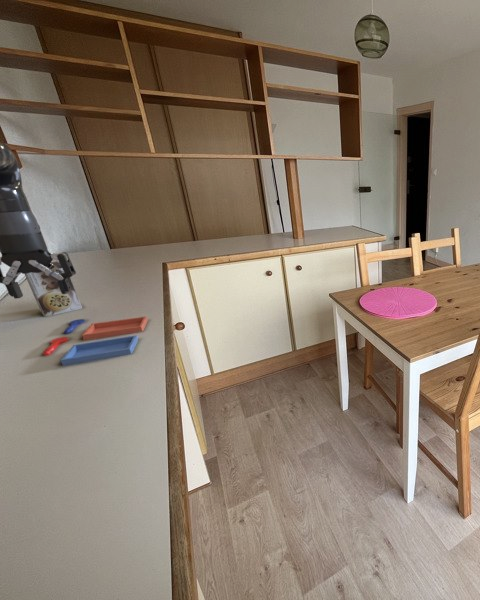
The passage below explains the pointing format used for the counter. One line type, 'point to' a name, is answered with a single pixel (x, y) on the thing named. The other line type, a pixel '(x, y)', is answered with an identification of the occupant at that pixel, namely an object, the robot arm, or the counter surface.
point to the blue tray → (100, 350)
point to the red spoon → (54, 345)
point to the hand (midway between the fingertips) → (43, 295)
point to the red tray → (115, 328)
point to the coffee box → (52, 293)
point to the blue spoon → (73, 325)
